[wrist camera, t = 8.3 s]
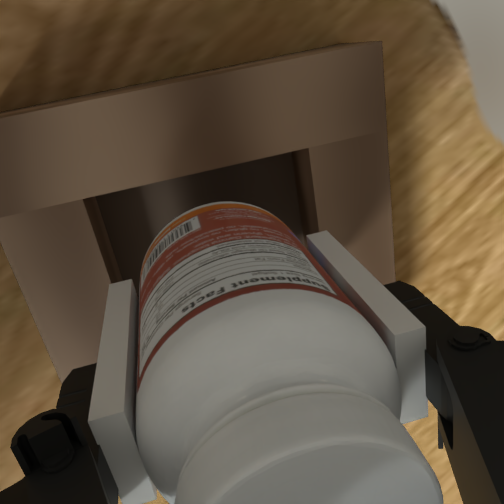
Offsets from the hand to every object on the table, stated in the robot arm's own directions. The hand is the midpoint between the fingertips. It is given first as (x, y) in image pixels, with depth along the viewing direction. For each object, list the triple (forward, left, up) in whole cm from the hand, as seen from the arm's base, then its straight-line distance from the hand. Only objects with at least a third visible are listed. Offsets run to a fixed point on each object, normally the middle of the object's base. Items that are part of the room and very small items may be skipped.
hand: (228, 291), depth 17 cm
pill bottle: (0, 0, -2) cm, 2 cm away
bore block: (0, 0, -5) cm, 5 cm away
